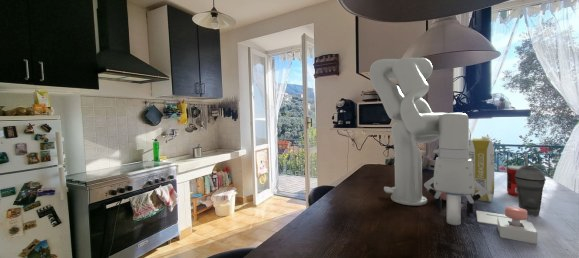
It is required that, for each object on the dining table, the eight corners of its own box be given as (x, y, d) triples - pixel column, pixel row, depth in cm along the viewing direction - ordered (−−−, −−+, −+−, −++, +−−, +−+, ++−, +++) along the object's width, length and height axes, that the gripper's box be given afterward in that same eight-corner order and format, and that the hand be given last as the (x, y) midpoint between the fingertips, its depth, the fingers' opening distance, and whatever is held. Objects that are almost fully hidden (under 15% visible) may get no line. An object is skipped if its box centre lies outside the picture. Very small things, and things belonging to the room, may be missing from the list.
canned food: (540, 197, 95) (540, 168, 95) (518, 198, 96) (518, 169, 95) (521, 191, 103) (522, 165, 103) (502, 192, 103) (502, 165, 103)
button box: (500, 237, 66) (500, 226, 66) (497, 227, 72) (497, 217, 72) (536, 244, 62) (537, 232, 62) (530, 232, 68) (530, 222, 68)
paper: (477, 222, 76) (477, 220, 76) (476, 211, 84) (476, 210, 84) (532, 231, 69) (532, 229, 69) (524, 218, 77) (524, 217, 77)
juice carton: (494, 203, 91) (494, 137, 90) (467, 199, 96) (467, 137, 95) (493, 196, 98) (493, 135, 97) (468, 193, 103) (468, 135, 102)
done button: (506, 229, 67) (506, 210, 66) (504, 223, 70) (504, 205, 70) (528, 232, 64) (528, 213, 64) (525, 226, 68) (525, 208, 67)
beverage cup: (535, 219, 77) (535, 154, 76) (508, 210, 84) (509, 151, 83) (551, 216, 78) (552, 152, 78) (524, 208, 86) (524, 149, 85)
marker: (445, 223, 76) (445, 186, 75) (446, 219, 79) (446, 183, 78) (461, 226, 73) (461, 188, 73) (461, 221, 76) (461, 184, 76)
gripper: (419, 154, 77) (419, 211, 78) (491, 157, 67) (491, 223, 68) (422, 151, 83) (423, 204, 84) (489, 154, 73) (489, 214, 74)
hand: (453, 212), depth 76 cm, fingers open, 6 cm apart
